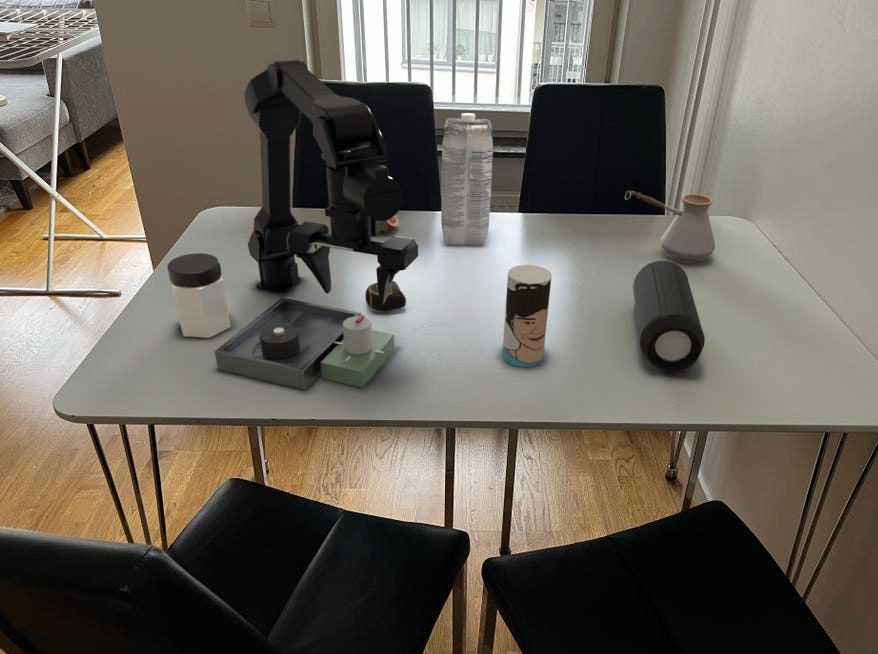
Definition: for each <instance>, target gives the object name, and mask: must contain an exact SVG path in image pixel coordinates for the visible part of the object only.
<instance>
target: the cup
mask: <svg viewBox="0 0 878 654" xmlns="http://www.w3.org/2000/svg"><path fill="white" fill-rule="evenodd" d="M552 276H553V275H552V273H551V271H549V269H547V268H545V267H543V266H541V265H540V266H539V265H534V264H520V265H516V266H513V267H511V268H510V269H508V272H507V283H506V295H505V309H504V310H505V313H504V326H503V341H502V354H501V355H502V358H503V360H504V361H505V362H506V363H508V364H509V365H511V366H515V367H518V368H519V367H520V368H531V367H535V366H537V365H539V364H541V363H542V362H543V359H544V353H545V352H544V351H545V342H546V334H547V326H548V316H549V315H548V314H549V305H550V296H551V285H552Z"/></svg>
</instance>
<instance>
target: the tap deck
mask: <svg viewBox="0 0 878 654" xmlns="http://www.w3.org/2000/svg"><path fill="white" fill-rule="evenodd" d="M334 343H335V344H338V345H337V346H336V347H335V348H334V349H333V350H332V351H331V352H330V353H329V354H328V355H327V356H326V357H325V358H324V360H323V361H322V362H321V372H322V374H321V378H322V379H323V380H327V381H331V382H336V383H339V384H344V385H349V386H353V387H357V388H361V389H362V388H364V387H365V386H366V384H368V382H369V381H370V380H371V379H372V378H373V376H374V375H375V374H376V373H377V372H378V370H379V369H380V368H381V367H382V365H384V363H385V362H386V360H387V359H388V358H390V356H391V355H392V353H393V352H394V351H395V334H394V333H389V332H385V331H379V330H376V329H375V330H374V329H372V350H371V351H369V352H368V353H365V354H361V355H354V354H350V353H348V352H346V351H345V348H344V339H343V340H342V341H341V342H334Z"/></svg>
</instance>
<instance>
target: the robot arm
mask: <svg viewBox="0 0 878 654" xmlns="http://www.w3.org/2000/svg"><path fill="white" fill-rule="evenodd" d="M244 102H245V106H246V109H247V111H248V116H249V117H250V119H251V120H252V121H253V123H254V124H255V126H256V127H257V129H258V130H259V142H260V143H259V144H260V167H261V169H260V170H261V171H260V172H261V195H262V199H261V200H262V206H261V208H260V209H259V211H258V212H257V213H256V215H255V216H254V218H253V231H252V232H251V234H250V236H249V240H248V242H247V249H248V251H249V256H251V257H252V259H254V260H255V262H256V263H257V265H258V272H259V279H260V281H259V282H258V283H257V284H256V285H255V286H256V288H257V289H260V290H264V291H265V290H266V291H270V292H276V293H282V294H286V293H288V292H289V291H290V290H292V289H293V288H294V287H296V286H297V285H298V284H299V283H301V282H302V280H303V278H302V277H301V276H299V268H298V262H297V261H296V258H299V259H301V260H302V262H303V263H304V264H305V265H306V267H307V268H308V269H309V271H310V272H311V273H312V275H313V277H314V278H315V279H316V280H317V282H318V284H319V285H320V287H321V288H322V290H323V291H324V293H325V294H330V293H331V292H332V277H331V268H330V258H329V256H330V251H331V249H336V250H337V249H338V250H344V251H349V252H355V253H361V254H366V255H371V256H376V257H377V260H376V261H377V263H378V264H379V265H378V267H377V268H376V269H375V271H376V283H378V294H379V300H380V303H381V304H384V303H385V301H386V299H387V296H388V293H389V290H390V287H391V284H392V281H394V278H395V276H396V275H398V273H399V272H400V271H406V269H407V268H408V267H409V266H410V265H412V263H413V262H414V261H415V260H416V259H417V258H419V245H418V244H417V242H416V240H415V239H414V238H411V237H406V236H405V237H404V236H399V235H391V236H390V237H389V238H387V240H385V241H384V242H381V241H376V240H372V239H373V237H374V238H376V237H378V236H379V235H380V231H381V230H383V231H382V232H388V231H387V222H388V219H391V218H392V217H393V216H395V215H396V216H397V213H399V211H400V209H401V207H402V205H403V202H404V192H403V190H402V187H401V185H400V183H399V182H398V181H396V180H395V179H394V178H392V177H390V176H389V175H390V173H389V171H390V170H389V168H388V167H387V166H386V165H381V164H379V162H386V161H388V160H389V156H388V154H387V151H386V149H387V147H388V145H387V144H386V141H385V139H384V137H383V135H382V133H381V130H380V128H379V125H378V124H377V120H376V117H375V116H374V113H373V112H372V111H371V109H370V108H369V107H368V106H367V104H365V103H364V102H361V101H360V100H358V99H357V98H356V99H355V98H353V97H348V96H341V95H338V94H336V93H335V92H334V91H333V90H332V89H331V88H329V87H328V86H327V85H326V84H325V83H324V82H323V81H321V79H319V78H318V77H317V76H316V75H315V74H314V73H312V71H310V70H309V69H308V66H307V64H306V63H305V61H304V60H300V59H297V58H296V59H285V60H274V61H273V62H271V63H269V64H268V66H267V68H266V69H265V70H263V71H262V72H261V73H259V74H257V75H255V76H254V77H252V78H251V79H250V80H249V82H248V84H247V86H246V88H245V90H244ZM302 113H303V115H305V116H306V117H307V118H308V119H309V120H310V122H311V123H312V135H313V137H314V139H315V141H316V143H317V145H318V146H319V148H320V150H321V152H322V153H321V156H320V157H321V159H322V160H324V161H325V166H326V167H325V169H326V182H327V195H328V206H327V207H326V208H324V216H325V217H329V219H330V220H329V221H330V228H329V227H328V226H327V225H326V224H324V223H318V222H312V221H308V220H307V221H306V220H305V221H304V222H302V223H299V221H298V220H297V219H296V218H295V216H294V215H293V213H292V211H291V136H292V135H293V133H294V132H295V131H296V128H297V127H298V126H299V124H300V123H301V116H302ZM369 147H371V148H369ZM357 149H359V150H357ZM351 150H352V151H351ZM329 229H330V230H329Z"/></svg>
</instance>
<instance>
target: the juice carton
mask: <svg viewBox="0 0 878 654" xmlns="http://www.w3.org/2000/svg"><path fill="white" fill-rule="evenodd" d="M441 146H442V147H441V205H440V207H441V208H440V209H441V215H440V216H441V217H440V218H441V221H440V222H441V223H440V224H441V231H442V236H443V239H444V240H443V241H444V243H445V245H449V246H474V247H475V246H476V247H477V246H478V247H479V246H480V247H482V246H484V245H485V242H486V240H487V236H488V233H489V229H490V215H491V194H492V177H493V157H494V155H493V154H494V135H493V124H492V122H491V120H490V119H487V118H485V119H483V118H482V119H476V114H475V113H470V112H465V113H461V117H460V118H455V117H449V118H447V119H446V120H445V121H444V126H443V132H442V145H441Z"/></svg>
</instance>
